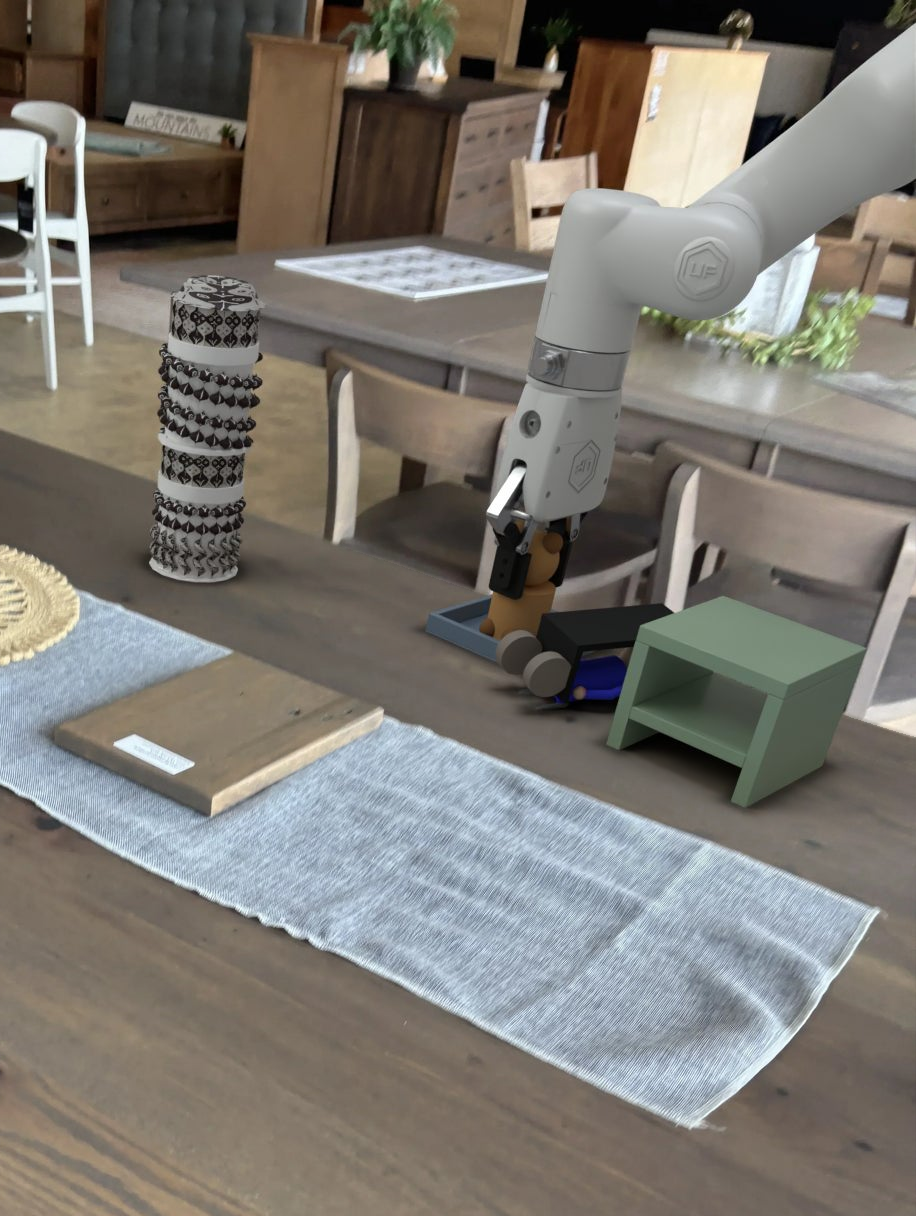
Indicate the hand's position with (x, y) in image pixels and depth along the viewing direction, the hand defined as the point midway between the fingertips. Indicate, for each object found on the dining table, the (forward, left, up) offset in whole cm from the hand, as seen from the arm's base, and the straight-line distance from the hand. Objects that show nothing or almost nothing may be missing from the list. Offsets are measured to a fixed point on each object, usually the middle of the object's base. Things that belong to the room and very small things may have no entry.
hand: (525, 586), depth 122 cm
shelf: (+5, +23, -5) cm, 24 cm away
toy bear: (0, 0, -5) cm, 5 cm away
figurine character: (+5, +11, -5) cm, 13 cm away
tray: (0, 0, -5) cm, 5 cm away
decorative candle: (+13, -28, -5) cm, 31 cm away
